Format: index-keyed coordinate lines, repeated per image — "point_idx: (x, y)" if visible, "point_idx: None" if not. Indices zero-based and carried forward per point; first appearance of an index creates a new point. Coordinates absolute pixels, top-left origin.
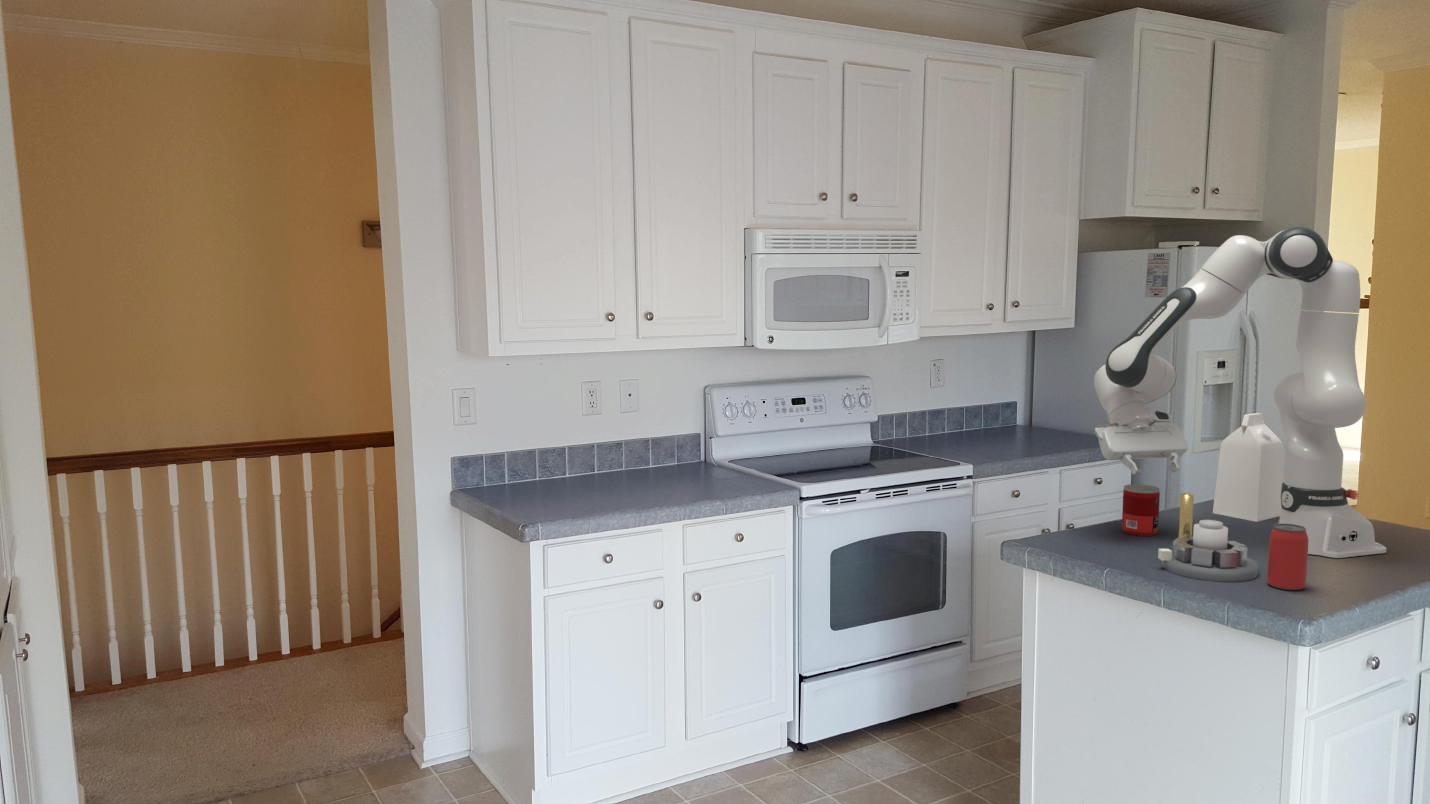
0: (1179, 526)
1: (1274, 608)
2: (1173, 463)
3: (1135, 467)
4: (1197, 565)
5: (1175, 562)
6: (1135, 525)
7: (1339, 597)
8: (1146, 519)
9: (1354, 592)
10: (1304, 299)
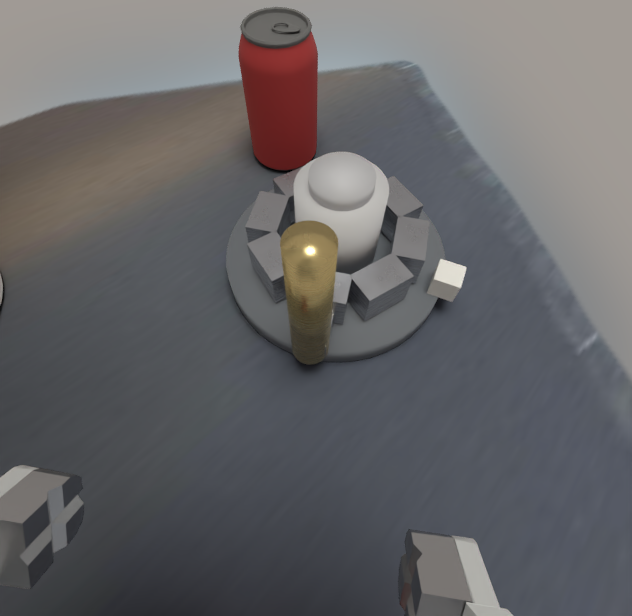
0: (330, 324)
1: (403, 99)
2: (9, 506)
3: (476, 561)
4: None
5: (434, 259)
6: None
7: None
8: None
9: (210, 107)
10: None
